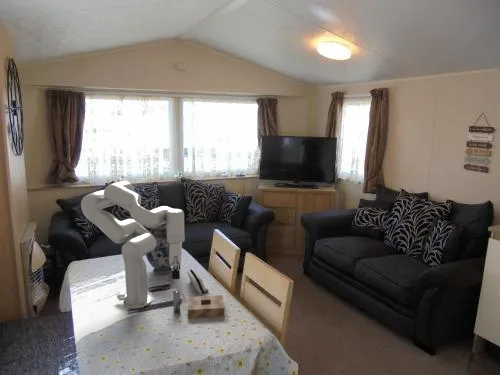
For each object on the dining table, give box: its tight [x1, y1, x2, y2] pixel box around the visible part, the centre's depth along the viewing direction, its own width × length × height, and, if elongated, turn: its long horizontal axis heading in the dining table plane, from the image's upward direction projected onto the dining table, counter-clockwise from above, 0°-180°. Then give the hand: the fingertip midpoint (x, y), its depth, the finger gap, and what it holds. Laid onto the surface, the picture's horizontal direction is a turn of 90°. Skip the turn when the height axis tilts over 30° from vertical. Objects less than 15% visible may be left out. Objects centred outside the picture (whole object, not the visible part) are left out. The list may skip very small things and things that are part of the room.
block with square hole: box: [187, 294, 225, 319], centre depth 175 cm, size 16×12×4 cm
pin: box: [172, 289, 181, 315], centre depth 172 cm, size 3×3×10 cm
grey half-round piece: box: [186, 267, 210, 295], centre depth 198 cm, size 17×5×10 cm, turn 25°
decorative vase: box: [145, 223, 172, 276], centre depth 214 cm, size 21×19×28 cm
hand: (176, 274), depth 170 cm, fingers open, 9 cm apart
